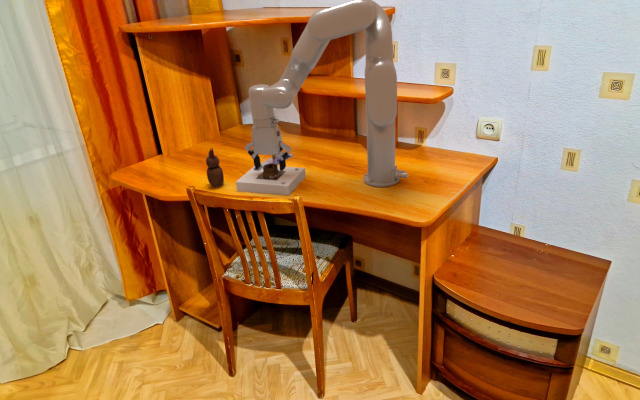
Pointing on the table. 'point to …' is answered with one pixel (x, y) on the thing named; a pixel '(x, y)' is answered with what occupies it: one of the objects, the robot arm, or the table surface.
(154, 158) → the table surface
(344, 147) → the table surface
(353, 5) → the robot arm
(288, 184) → the socket block
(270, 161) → the smartphone
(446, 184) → the table surface
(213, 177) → the wooden figurine
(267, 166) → the utensil holder
